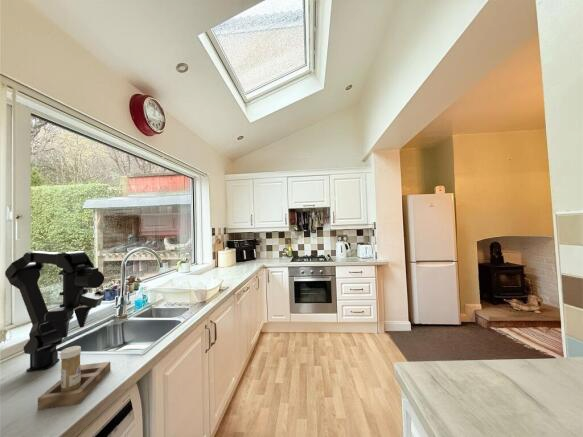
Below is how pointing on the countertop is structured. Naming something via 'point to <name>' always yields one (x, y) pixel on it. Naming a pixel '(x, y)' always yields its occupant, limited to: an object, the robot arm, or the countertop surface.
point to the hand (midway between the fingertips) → (73, 332)
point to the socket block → (88, 382)
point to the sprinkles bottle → (70, 368)
